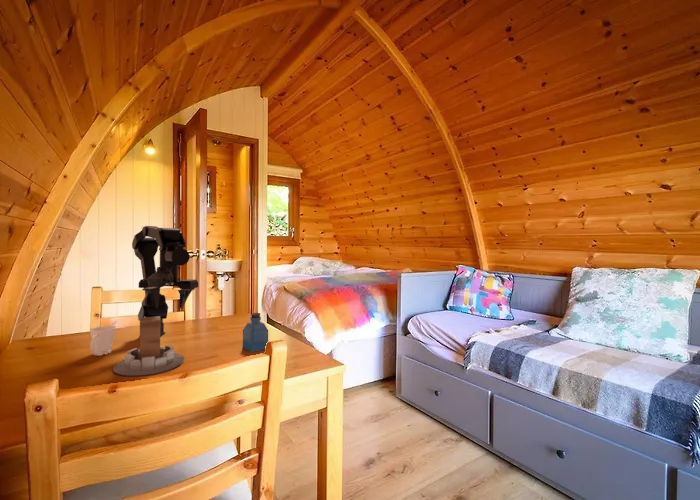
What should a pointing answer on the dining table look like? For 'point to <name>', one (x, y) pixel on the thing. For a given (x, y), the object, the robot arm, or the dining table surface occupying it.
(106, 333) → the cup
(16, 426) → the dining table surface
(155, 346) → the walnut block
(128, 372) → the castellated ring
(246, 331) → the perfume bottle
